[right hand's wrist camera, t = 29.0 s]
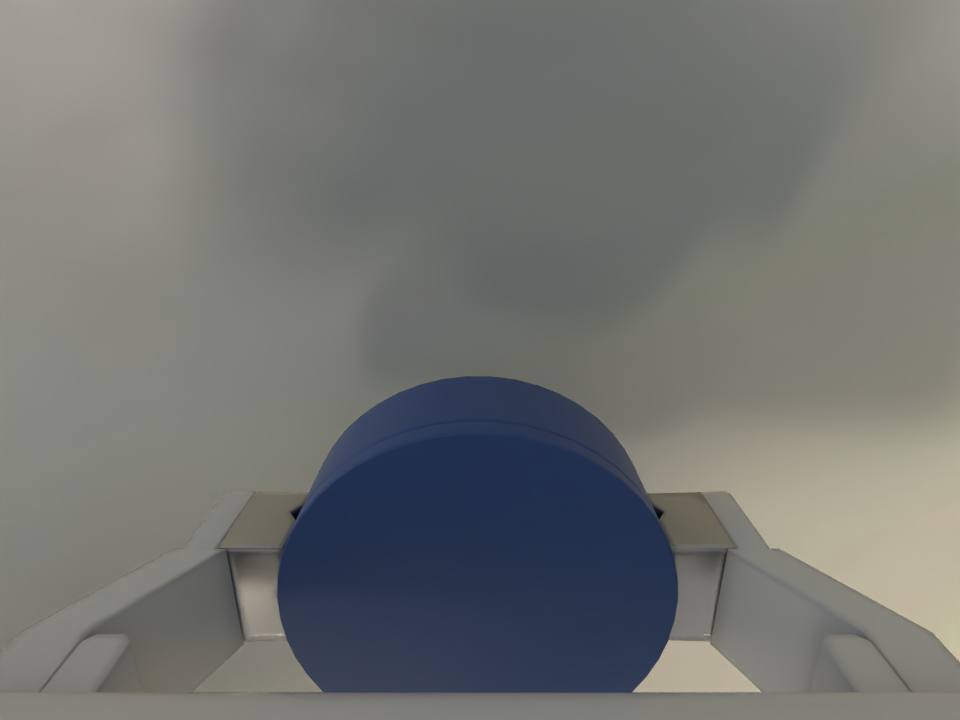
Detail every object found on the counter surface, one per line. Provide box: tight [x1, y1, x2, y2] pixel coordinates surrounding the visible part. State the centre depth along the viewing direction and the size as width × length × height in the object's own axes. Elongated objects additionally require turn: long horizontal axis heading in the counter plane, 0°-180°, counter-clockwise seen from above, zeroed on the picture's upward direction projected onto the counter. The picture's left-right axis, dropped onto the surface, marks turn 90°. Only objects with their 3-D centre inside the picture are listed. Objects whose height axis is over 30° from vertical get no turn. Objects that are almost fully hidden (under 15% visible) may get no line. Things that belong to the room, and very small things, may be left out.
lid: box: [277, 376, 678, 693], centre depth 9 cm, size 6×6×2 cm
